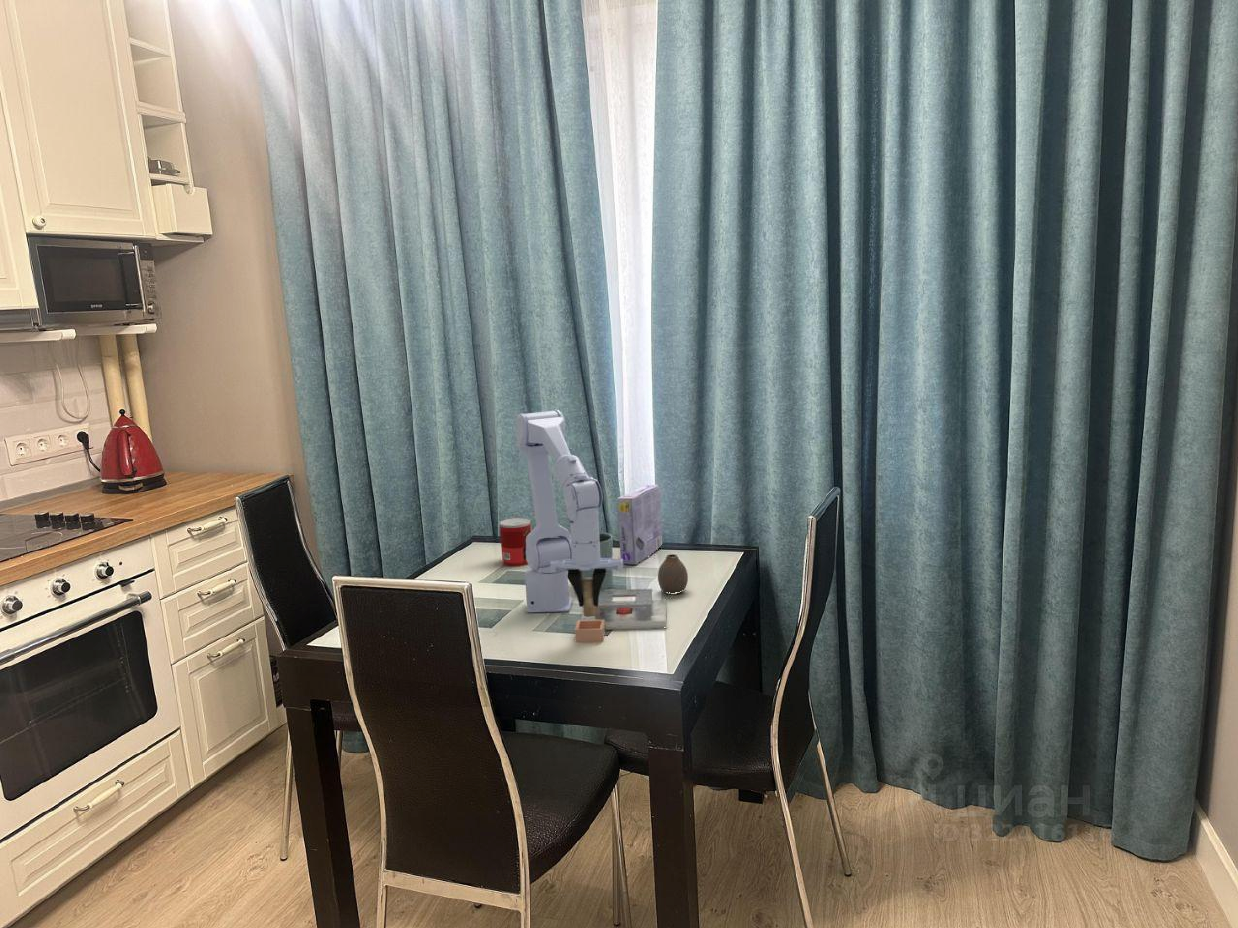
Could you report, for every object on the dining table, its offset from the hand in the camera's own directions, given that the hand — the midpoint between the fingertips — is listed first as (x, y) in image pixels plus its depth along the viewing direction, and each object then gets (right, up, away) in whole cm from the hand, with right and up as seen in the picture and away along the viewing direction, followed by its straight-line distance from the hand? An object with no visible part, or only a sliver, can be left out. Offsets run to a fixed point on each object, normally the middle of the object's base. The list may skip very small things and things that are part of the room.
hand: (588, 604), depth 186 cm
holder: (0, -7, +1) cm, 7 cm away
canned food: (-21, +3, +55) cm, 59 cm away
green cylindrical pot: (0, -1, +33) cm, 33 cm away
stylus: (0, -2, 0) cm, 2 cm away
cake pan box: (+12, +4, +56) cm, 58 cm away
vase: (+19, -1, +26) cm, 32 cm away
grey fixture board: (+7, -5, +11) cm, 14 cm away
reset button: (+7, -4, +11) cm, 14 cm away
